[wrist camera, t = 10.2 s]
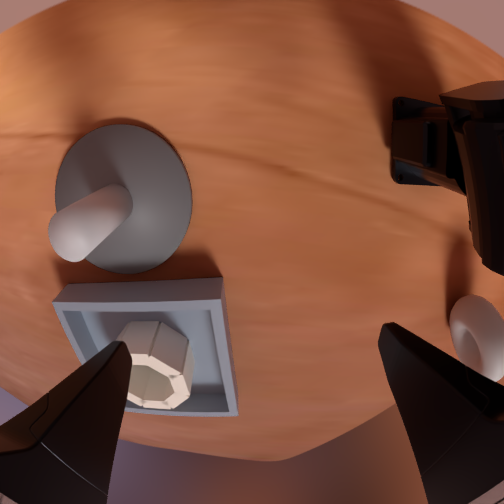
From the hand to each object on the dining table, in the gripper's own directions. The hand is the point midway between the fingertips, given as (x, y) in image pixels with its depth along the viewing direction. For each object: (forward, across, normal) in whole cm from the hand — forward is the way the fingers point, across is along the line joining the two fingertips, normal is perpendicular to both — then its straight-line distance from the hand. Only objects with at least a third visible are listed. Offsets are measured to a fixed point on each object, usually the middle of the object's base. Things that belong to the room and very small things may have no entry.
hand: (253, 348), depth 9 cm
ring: (+11, +9, +11) cm, 18 cm away
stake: (+12, +9, -3) cm, 15 cm away
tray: (+12, +9, +11) cm, 18 cm away
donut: (+12, -22, +11) cm, 27 cm away
